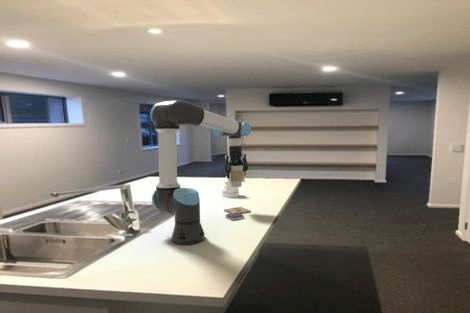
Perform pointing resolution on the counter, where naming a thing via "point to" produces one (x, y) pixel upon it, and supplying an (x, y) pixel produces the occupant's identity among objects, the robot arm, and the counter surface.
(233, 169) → the coffee cup
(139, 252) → the counter surface
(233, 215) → the ink pad
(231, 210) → the board
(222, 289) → the counter surface
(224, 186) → the white tiered cone
